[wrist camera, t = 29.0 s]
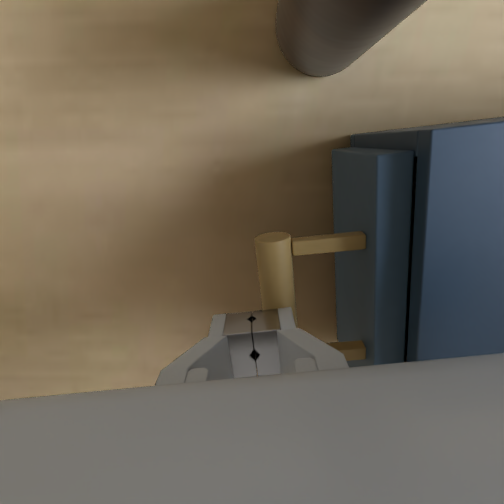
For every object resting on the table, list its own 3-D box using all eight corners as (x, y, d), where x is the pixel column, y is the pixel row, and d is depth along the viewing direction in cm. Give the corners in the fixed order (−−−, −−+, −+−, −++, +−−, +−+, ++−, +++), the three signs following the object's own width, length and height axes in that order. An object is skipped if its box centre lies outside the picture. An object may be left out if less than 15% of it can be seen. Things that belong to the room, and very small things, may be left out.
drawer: (270, 344, 21) (275, 436, 14) (250, 158, 17) (244, 169, 10) (579, 318, 20) (736, 406, 13) (629, 115, 16) (882, 97, 9)
